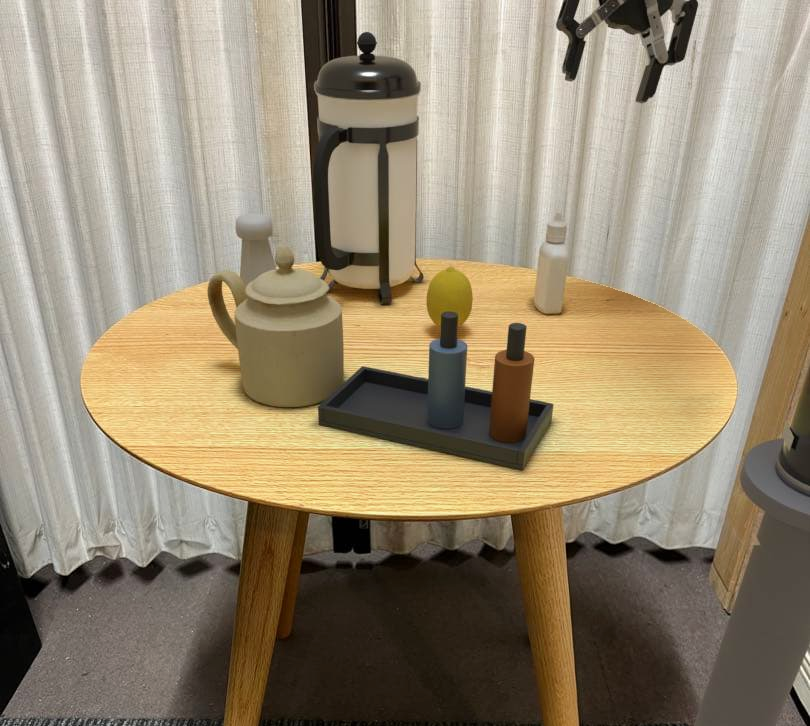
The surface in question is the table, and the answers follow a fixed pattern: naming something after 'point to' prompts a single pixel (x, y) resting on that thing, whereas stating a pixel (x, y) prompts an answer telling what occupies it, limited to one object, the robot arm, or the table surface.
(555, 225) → the eye dropper bottle
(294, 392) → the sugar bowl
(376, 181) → the coffee press
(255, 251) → the salt shaker
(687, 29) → the robot arm
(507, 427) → the amber bottle
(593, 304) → the table surface
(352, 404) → the tray
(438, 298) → the lemon
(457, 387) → the slate-blue bottle
